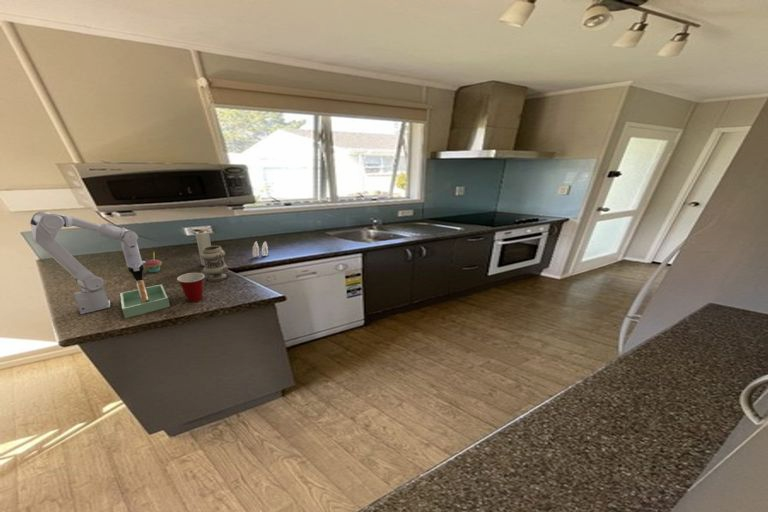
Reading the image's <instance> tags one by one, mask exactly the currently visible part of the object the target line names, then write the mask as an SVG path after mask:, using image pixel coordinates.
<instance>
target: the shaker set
mask: <svg viewBox="0 0 768 512" xmlns="http://www.w3.org/2000/svg"><path fill="white" fill-rule="evenodd" d="M258 243H259V242H258V241H255V242H254V243H253V246H252V257H253V258H254V259H255V258H259V257H260V246H259V244H258ZM268 255H269V246H268V243H267V241H264V242H263V244H262V246H261V256H263V257H264V256H268Z"/></svg>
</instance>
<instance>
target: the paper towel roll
mask: <svg viewBox="0 0 768 512" xmlns="http://www.w3.org/2000/svg"><path fill="white" fill-rule="evenodd" d="M195 238H196V243H197V248H198V253H199V259H200V265H201V266H203V267H205V262H204V259H202V258H201V253H202V252H203V249H204V248H205V247H209V246H212V243H211V237H210V232H208V231H205V230H200V231H195Z"/></svg>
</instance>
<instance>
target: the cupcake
mask: <svg viewBox="0 0 768 512" xmlns="http://www.w3.org/2000/svg"><path fill="white" fill-rule="evenodd" d="M155 257H156V255H155V252H152V259H149V260H145V262H146V263H144V264H142V265H143V267H144V268H145V269H146V270H148V272H149V273H157V272H159V271H160V270H161V269H160V268H161V265H162V264H163V263H162V260H160V259H156V258H155Z"/></svg>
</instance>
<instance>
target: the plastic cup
mask: <svg viewBox="0 0 768 512" xmlns="http://www.w3.org/2000/svg"><path fill="white" fill-rule="evenodd" d="M205 277H206V276H205V273H201V272H188V273H183V274H181V275H179V276H178V277H177V278H176V280H177V282H178V283H179V285H180V287H181V289H182V291H183V293H184V295H185V297H186V300H187V301H188V302H190V303H194V302H198V301H201V300H202V299H203V290H204V289H203V287H204V278H205Z"/></svg>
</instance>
